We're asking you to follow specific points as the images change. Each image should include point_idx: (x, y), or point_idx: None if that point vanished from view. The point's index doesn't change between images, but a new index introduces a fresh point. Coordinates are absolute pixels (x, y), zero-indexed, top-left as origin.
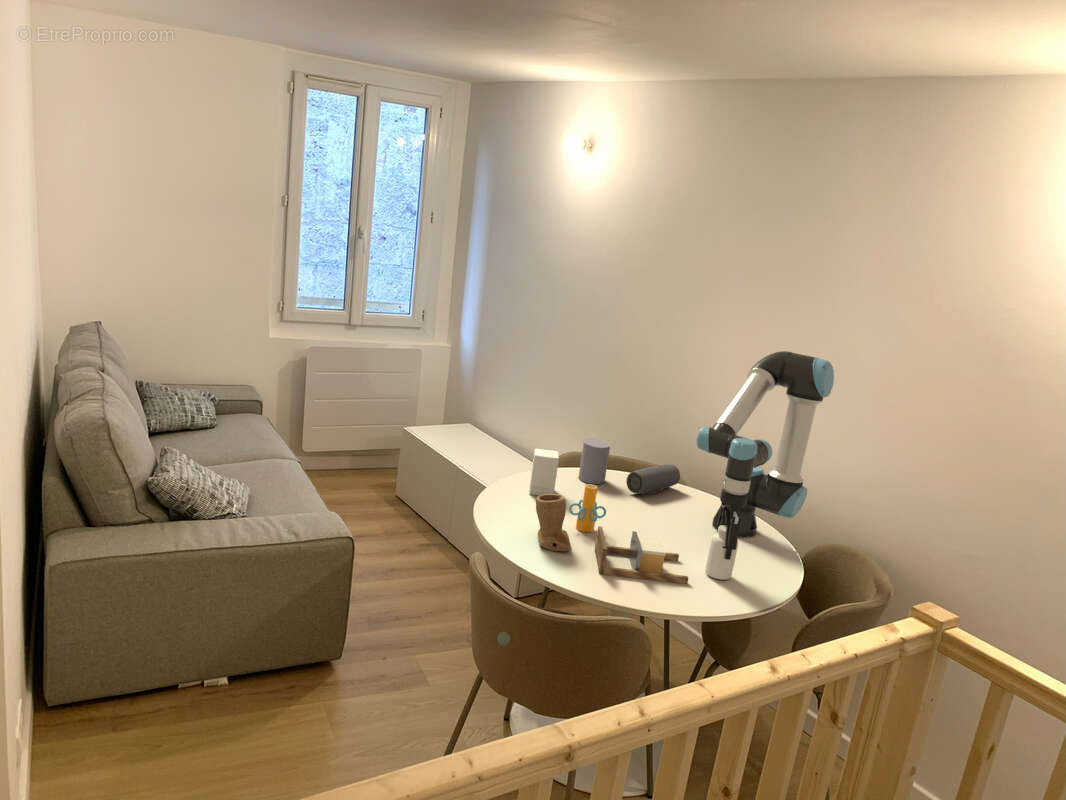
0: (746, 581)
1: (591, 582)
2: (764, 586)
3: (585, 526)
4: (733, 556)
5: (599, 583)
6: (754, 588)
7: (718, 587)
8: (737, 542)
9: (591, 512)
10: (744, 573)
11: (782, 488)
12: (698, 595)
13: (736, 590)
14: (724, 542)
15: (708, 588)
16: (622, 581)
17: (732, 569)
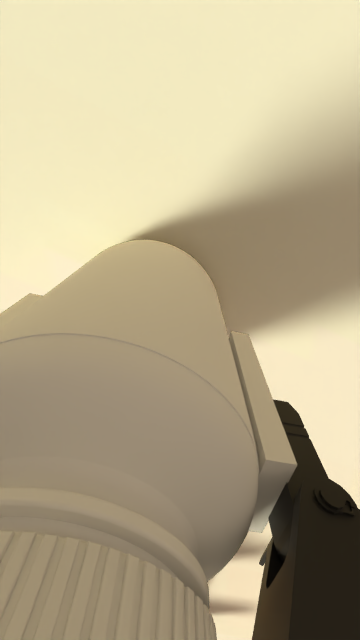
0: (210, 147)
1: (219, 634)
2: (286, 19)
3: None
4: (227, 346)
5: (224, 625)
6: (304, 134)
7: (271, 350)
8: (188, 409)
9: None
10: (94, 99)
11: None
12: (326, 450)
13: (311, 273)
14: (220, 570)
15: (276, 395)
16: (213, 591)
17: (198, 272)
